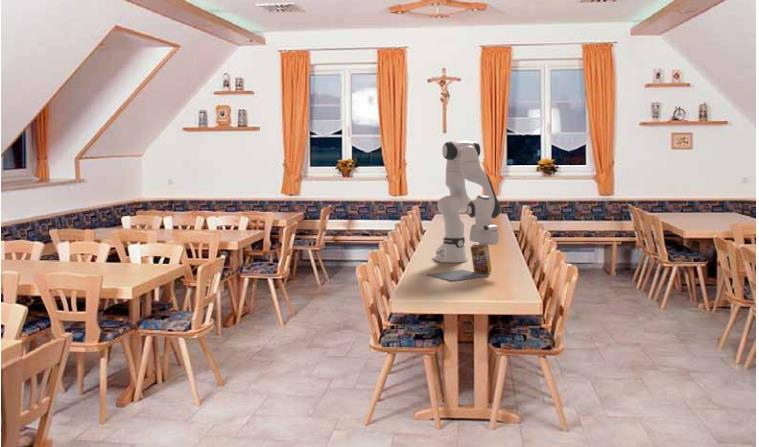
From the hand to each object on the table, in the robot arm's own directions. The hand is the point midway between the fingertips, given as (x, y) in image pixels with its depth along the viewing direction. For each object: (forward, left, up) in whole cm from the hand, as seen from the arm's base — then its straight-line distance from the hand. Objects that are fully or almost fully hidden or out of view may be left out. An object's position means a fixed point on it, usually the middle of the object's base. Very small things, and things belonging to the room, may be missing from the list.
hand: (483, 251), depth 417 cm
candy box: (0, 0, -11) cm, 11 cm away
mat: (0, -17, -12) cm, 21 cm away
